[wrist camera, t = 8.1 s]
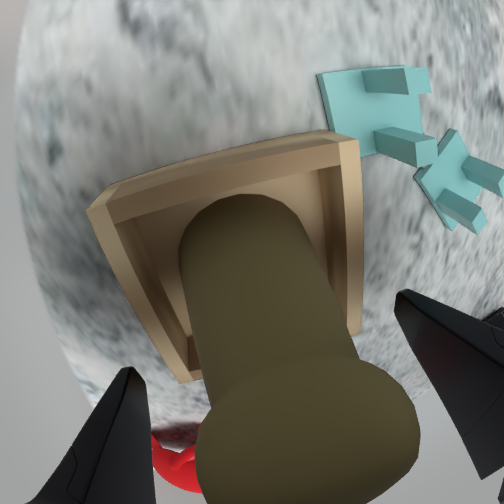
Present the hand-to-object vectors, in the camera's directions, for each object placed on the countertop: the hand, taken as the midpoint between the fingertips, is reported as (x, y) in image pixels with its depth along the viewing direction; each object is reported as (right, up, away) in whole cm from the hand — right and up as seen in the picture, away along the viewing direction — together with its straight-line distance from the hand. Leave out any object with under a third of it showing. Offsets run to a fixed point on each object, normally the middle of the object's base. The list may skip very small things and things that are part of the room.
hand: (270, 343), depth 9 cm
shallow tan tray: (-1, +3, +5) cm, 6 cm away
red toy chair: (-6, -14, +14) cm, 20 cm away
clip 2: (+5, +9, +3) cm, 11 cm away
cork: (-1, +3, +5) cm, 6 cm away
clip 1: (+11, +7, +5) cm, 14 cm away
